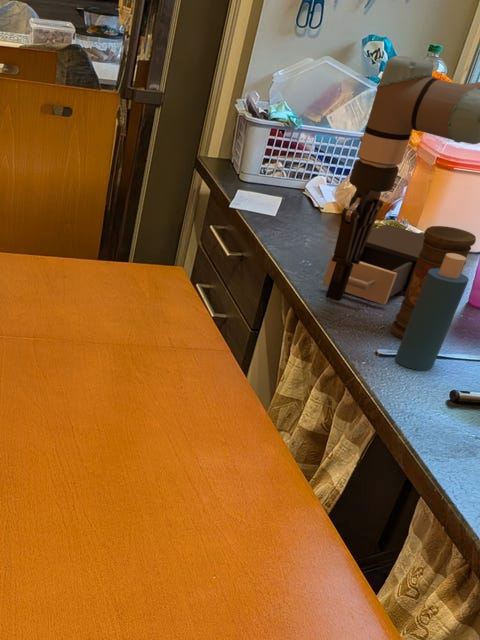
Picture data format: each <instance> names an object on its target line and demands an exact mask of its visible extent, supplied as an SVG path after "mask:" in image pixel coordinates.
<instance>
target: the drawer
mask: <svg viewBox="0 0 480 640" xmlns="http://www.w3.org/2000/svg"><path fill="white" fill-rule="evenodd" d="M333 256H334V253H332V254H331V257H330V259H329V262H328V266H327V269H326V272H325V275H324V278H323V281H322V285H323V286H326V287H329V284H330V281H331V278H332V275H333V272H334V269H335V265H336V262H333V261H332V258H333ZM357 260H360V262H359V264H354V263H352V264H353V268H352V271H351V274H350V277H349V280H348V283H347V286H346V289H345V292H344V293H347V294H350V295H353V296H356V297H359V298H363V299H365V300H368V301H370V302H373V303H377V304H380V305H383V306H384V305H386V304H387V303H388V300H389V298H390V297H393V296H394V295H397V294H396V293H398V292H399V291H401V290H403V289H405V288H406V287H407V285H408V282H409V279H410V277H411V274H412V271H413V269H414V266H415V263H416V262H415V261H412V260H408V259H405V258H402V257H398V256H395V255H392V254H389V253H385V252H382V251H379V250H375V249H372V248H369V247H366V246H365V247H364V249H363V252H362V255H361V256H360V257H359V258H358V257H357Z"/></svg>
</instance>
